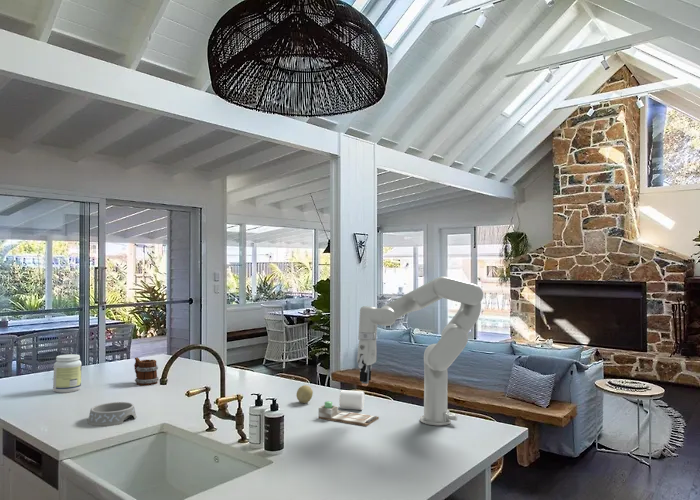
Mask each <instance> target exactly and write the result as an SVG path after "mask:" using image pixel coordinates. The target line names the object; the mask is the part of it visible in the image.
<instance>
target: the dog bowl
mask: <svg viewBox="0 0 700 500" xmlns="http://www.w3.org/2000/svg"><path fill="white" fill-rule="evenodd" d="M130 416H133V419H134V420H136V419H137V415H136V409H135V405H134V404H133V403H132V402H127V401H117V402H116V401H115V402H106V403H101V404H98V405H95V406H93V407H91V408H90V410H89V415H88V419H87V424H88V425H90V426H93V427H94V426H95V427H111V426H112V427H113V426H120V425H123V423H124V421H125V420H126V421H127V419H129V418H130Z"/></svg>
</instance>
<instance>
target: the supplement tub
mask: <svg viewBox="0 0 700 500" xmlns="http://www.w3.org/2000/svg"><path fill="white" fill-rule="evenodd" d="M80 355H81V354H73V353H72V354H68V353H67V354H60V355H57V356H56V357H55V362H54V363H53V380H52V381H53V382H52V383H53V387H52V390H53V392H55V393H59V394H60V393H62V394H63V393H72V392H76V391H77V392H78V391H79V390H81V388H82V369H83V368H82V361H81V356H80Z"/></svg>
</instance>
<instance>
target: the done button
mask: <svg viewBox="0 0 700 500" xmlns="http://www.w3.org/2000/svg"><path fill="white" fill-rule="evenodd" d="M324 405H325V408H329V409H331V408H332V405H333V401H329V400H328V401H327V400H326V401H324Z"/></svg>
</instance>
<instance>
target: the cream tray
mask: <svg viewBox="0 0 700 500" xmlns="http://www.w3.org/2000/svg"><path fill="white" fill-rule="evenodd" d="M317 413H318V416H317V417H318V419H320V420H326V421H333V422H339V423H344V424H350V425H355V426H363V427H367V426H369V425H371V424H372V423H375V421H377V420H379V419H380V417H379V416H377V415H373V414H372V415H371V414H364V413H359V412H358V413H357V412H353V411H352V412H351V411H344V410H339V406H338V405H333V404H332V408H331V409H329V408H325V404H323V405H321V406H319V407H318V412H317Z"/></svg>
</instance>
